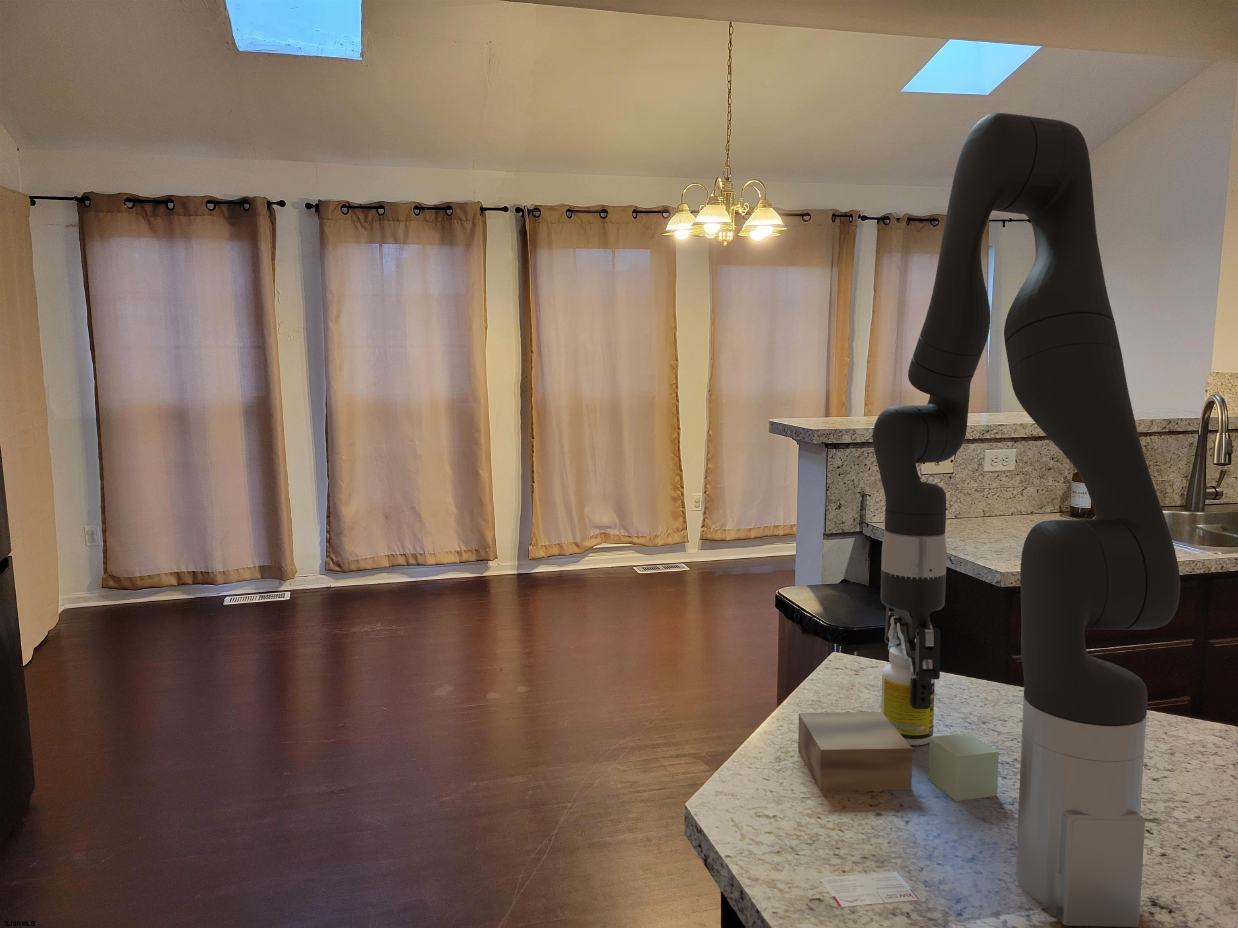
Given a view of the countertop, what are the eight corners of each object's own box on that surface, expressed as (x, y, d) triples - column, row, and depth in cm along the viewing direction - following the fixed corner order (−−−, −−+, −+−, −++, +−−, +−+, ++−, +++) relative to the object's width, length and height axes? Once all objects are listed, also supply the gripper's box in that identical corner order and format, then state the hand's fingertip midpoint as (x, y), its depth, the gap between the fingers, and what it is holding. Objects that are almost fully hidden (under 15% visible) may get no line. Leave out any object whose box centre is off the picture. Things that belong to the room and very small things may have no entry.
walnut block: (911, 792, 90) (912, 748, 90) (820, 793, 90) (821, 749, 90) (880, 751, 100) (881, 711, 100) (798, 752, 100) (798, 712, 99)
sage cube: (997, 796, 89) (998, 751, 88) (956, 801, 88) (957, 756, 87) (967, 774, 94) (969, 732, 93) (928, 779, 93) (929, 736, 92)
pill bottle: (940, 747, 101) (943, 659, 99) (889, 747, 101) (891, 659, 100) (922, 726, 107) (925, 642, 106) (874, 726, 107) (876, 642, 106)
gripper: (965, 582, 94) (960, 718, 96) (925, 554, 109) (921, 673, 110) (899, 582, 95) (895, 717, 97) (867, 554, 109) (864, 673, 111)
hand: (909, 694), depth 104 cm, fingers open, 8 cm apart
